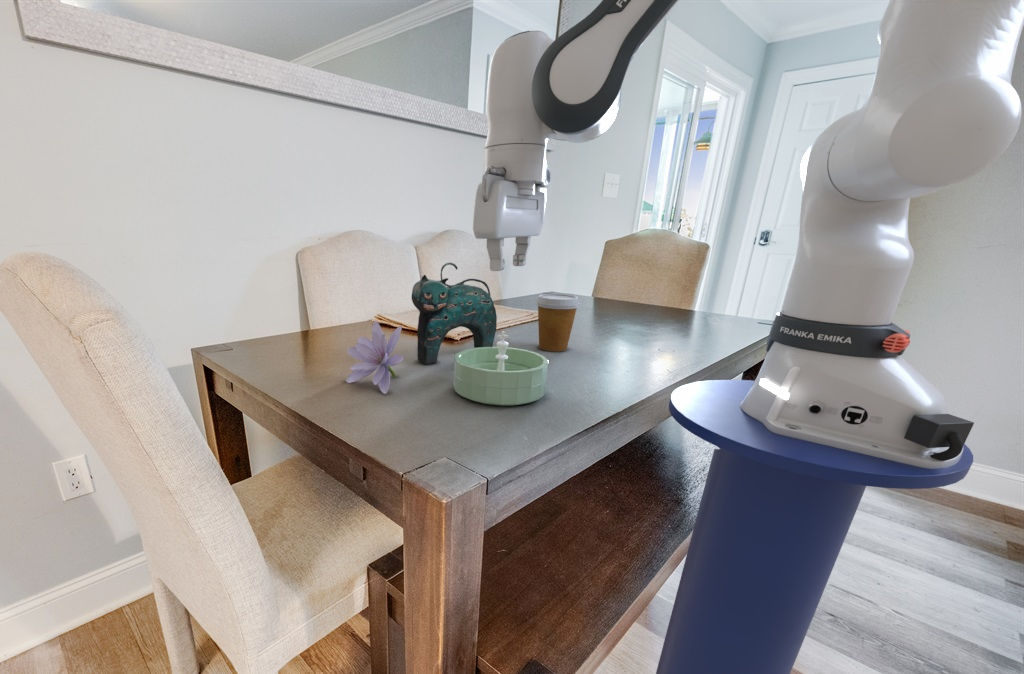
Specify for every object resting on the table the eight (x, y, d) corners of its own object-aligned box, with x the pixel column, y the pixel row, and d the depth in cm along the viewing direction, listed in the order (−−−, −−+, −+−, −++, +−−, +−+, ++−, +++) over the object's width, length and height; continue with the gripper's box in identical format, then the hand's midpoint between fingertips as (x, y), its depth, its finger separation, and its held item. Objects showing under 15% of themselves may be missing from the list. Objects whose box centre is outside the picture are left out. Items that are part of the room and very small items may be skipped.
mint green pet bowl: (563, 394, 79) (567, 360, 77) (500, 416, 70) (503, 378, 68) (497, 372, 90) (499, 342, 88) (435, 388, 82) (436, 355, 79)
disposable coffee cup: (582, 349, 107) (589, 297, 103) (554, 355, 102) (560, 301, 98) (550, 341, 114) (556, 292, 110) (523, 346, 109) (527, 295, 105)
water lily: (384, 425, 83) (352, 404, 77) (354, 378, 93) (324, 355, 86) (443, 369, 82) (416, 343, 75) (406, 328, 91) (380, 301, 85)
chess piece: (484, 383, 82) (487, 328, 79) (512, 383, 82) (516, 328, 79) (486, 392, 78) (489, 334, 74) (515, 393, 78) (520, 335, 74)
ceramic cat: (420, 367, 93) (421, 265, 86) (406, 359, 98) (405, 262, 91) (499, 355, 102) (505, 261, 95) (481, 348, 107) (486, 259, 100)
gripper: (507, 161, 58) (502, 275, 63) (554, 175, 74) (547, 264, 79) (462, 165, 61) (460, 273, 66) (517, 177, 77) (512, 263, 82)
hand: (508, 268), depth 73 cm, fingers open, 8 cm apart
